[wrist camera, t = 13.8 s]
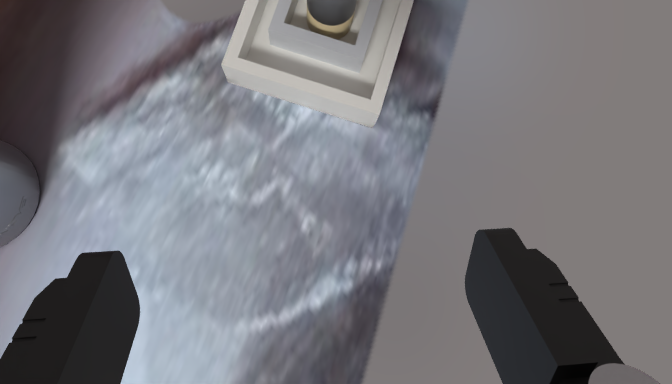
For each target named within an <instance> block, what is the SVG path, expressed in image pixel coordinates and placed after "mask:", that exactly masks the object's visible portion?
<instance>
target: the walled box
mask: <svg viewBox="0 0 672 384" xmlns="http://www.w3.org/2000/svg"><path fill="white" fill-rule="evenodd" d="M413 2H414V0H357V2H356V7H355V12H354V17H353V22H352V26H351V29H350V30H349V32H348V33H347V34H346V35H345V36H344V37H342V38H340V39H338V40H336V39H333V38H330V37H327V36H324V35H321V34H317V33H314V32H311V30H310V29H309V27H308V24H307V0H246V1H245V3H244V6H243V9H242V11H241V14H240V17H239V19H238V22H237V25H236V27H235V30H234V33H233V35H232V38H231V41H230V43H229V46H228V48H227V51H226V54H225V56H224V59H223V62H222V64H221V65H222V68H223V70H224V73H225V75H226V78H227V81H228V83H231V84H234V85H238V86H241V87H244V88H247V89H250V90H253V91H256V92H260V93H263V94H266V95H269V96H272V97H275V98H278V99H282V100H285V101H288V102H291V103H294V104H297V105H301V106H304V107H307V108H310V109H313V110H316V111H319V112H323V113H326V114H329V115H332V116H335V117H338V118H341V119H345V120H348V121H351V122H354V123H357V124H360V125H364V126H367V127H370V128H373V127H374V125H375V123H376V121H377V119H378V117H379V114H380V111H381V108H382V104H383V101H384V98H385V95H386V91H387V88H388V85H389V81H390V78H391V75H392V71H393V68H394V65H395V61H396V58H397V55H398V52H399V48H400V45H401V42H402V38H403V35H404V32H405V28H406V25H407V22H408V18H409V15H410V12H411V8H412V5H413Z"/></svg>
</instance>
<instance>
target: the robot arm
mask: <svg viewBox="0 0 672 384" xmlns="http://www.w3.org/2000/svg"><path fill="white" fill-rule="evenodd" d="M39 194H40V188H39V179H38V176H37V173H36V170H35V168H34V166H33V165H32V163H31V161H30V160H29V158H28V157H27V156H26V155H25V154H24V153H23V152H22V151H20V150H19V149H17V148H15V147H14V146H12V145H11V144H8V143H6V142H4V141H1V140H0V247H2V246H4V245H6V244H8V243H9V242H11V241H12V240H13V239H15V238H16V237H17V236H19V234H20V233H21V232H22V231H23V230H24V229H25V228H26V227H27V226H28V224H29V222H30V221H31V219H32V218H33V216H34V214H35V211H36V208H37V205H38V201H39ZM465 290H466V295H467V299H468V302H469V305H470V307H471V310H472V312H473V314H474V317H475V319H476V321H477V324H478V326H479V328H480V331H481V333H482V336H483V338H484V340H485V343H486V345H487V347H488V350H489V352H490V354H491V357H492V359H493V362H494V364H495V366H496V369H497V371H498V373H499V376H500V378H501V380H502V383H503V384H660V383H659V382H658V381H656V380H655V379H654V378H652V377H651V376H649V375H648V374H646V373H644V372H643V371H641V370H638V369H636V368H634V367H631V366H627V365H625V364H624V363H623V362H622V361H621V359H620V358H619V356H618V355H617V354H616V352H615V351H614V349H613V348H612V346H611V345H610V343H609V342H608V340H607V339H606V337H605V336H604V334H603V333H602V332H601V330H600V329H599V327H598V326H597V324H596V323H595V321H594V320H593V318H592V317H591V315H590V314H589V312H588V311H587V309H586V308H585V307H584V305H583V304H582V302H579V300H578V296H577V295H576V293H575V292H574V290H573V289H572V287H571V286H568V281H567V280H566V279H565V277H564V276H563V274H562V273H561V271H560V270H559V268H558V267H557V265H556V264H555V263H554V262H552V261H551V260H550V259H549V258H547V257H546V256H545V255H544V254H542V253H541V252H540V251H538V250H537V249H526V247H525V246H524V244H523V243H522V241H521V239H520V238H519V236H518V235H517V233H516V232H515V231H514V230H513V229H512V228H502V229H487V230H486V229H485V230H478V231H477V232H476V234H475V238H474V242H473V246H472V250H471V255H470V259H469V263H468V267H467V272H466V276H465ZM139 317H140V305H139V299H138V295H137V292H136V290H135V287H134V284H133V281H132V278H131V276H130V273H129V270H128V267H127V264H126V262H125V259H124V256H123V254H122V253H121V252H120V251H106V252H89V253H82V254H80V255H79V256H78V258H77V259H76V261H75V263H74V265H73V267H72V269H71V271H70V273H69V275H68V277H67V278H59V279H55V280H53V281H52V282H51V283H50V284H49V285H48V286H47V287H46V288H45V289H44V290H43V291H42V292H41V293H40V294H38V295H37V296H36V297H35V298H34V300H33V302H32V304H31V305H30V307H29V309H28V311H27V313H26V314H25V316H24V318H23V323H22V324H20V325H19V327H18V329H17V330H16V332H15V334H14V336H13V337H12V339H13V340H12V343H9V345H8V346H7V348H6V350H5V352H4V354H3V355H2V357H1V359H0V384H120V383H121V380H122V376H123V373H124V370H125V367H126V363H127V360H128V357H129V354H130V350H131V347H132V344H133V340H134V337H135V334H136V331H137V327H138V324H139Z"/></svg>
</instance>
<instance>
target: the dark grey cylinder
mask: <svg viewBox="0 0 672 384" xmlns="http://www.w3.org/2000/svg"><path fill="white" fill-rule="evenodd" d="M356 2H357V0H307V24H308V27H309V29H310V30H311V32H314V33H317V34H321V35H324V36H327V37H330V38H333V39H336V40H338V39H340V38H342V37H344V36H345V35H346V34H347V33H348V32H349V30H350V29H351V26H352V22H353V17H354V12H355V7H356Z"/></svg>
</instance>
